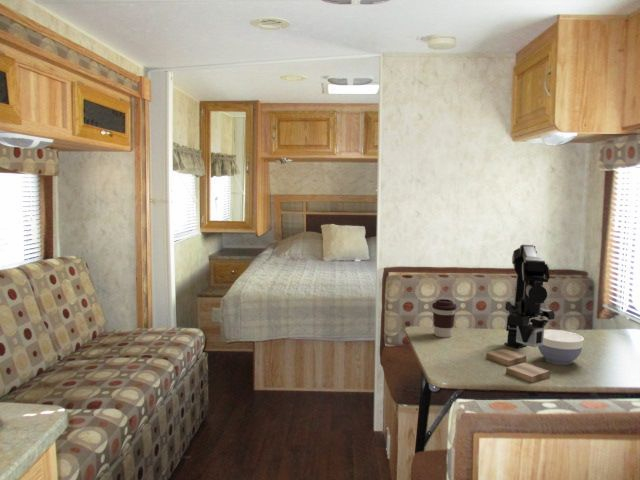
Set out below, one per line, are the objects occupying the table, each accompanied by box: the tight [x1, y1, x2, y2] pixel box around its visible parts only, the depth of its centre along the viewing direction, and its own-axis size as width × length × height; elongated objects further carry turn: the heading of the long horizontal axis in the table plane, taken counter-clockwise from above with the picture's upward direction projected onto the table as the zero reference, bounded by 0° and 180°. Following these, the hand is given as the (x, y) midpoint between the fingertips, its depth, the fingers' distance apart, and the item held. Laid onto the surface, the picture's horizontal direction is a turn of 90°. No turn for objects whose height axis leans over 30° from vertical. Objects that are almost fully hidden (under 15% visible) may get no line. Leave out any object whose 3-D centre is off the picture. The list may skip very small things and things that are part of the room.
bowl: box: [537, 329, 585, 366], centre depth 205 cm, size 16×16×10 cm
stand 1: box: [485, 348, 527, 367], centre depth 205 cm, size 10×10×2 cm
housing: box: [516, 325, 545, 348], centre depth 188 cm, size 5×7×6 cm
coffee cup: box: [431, 298, 458, 338], centre depth 234 cm, size 10×10×15 cm
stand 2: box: [505, 362, 550, 384], centre depth 190 cm, size 10×10×2 cm
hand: (529, 341), depth 189 cm, fingers closed on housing, 5 cm apart
